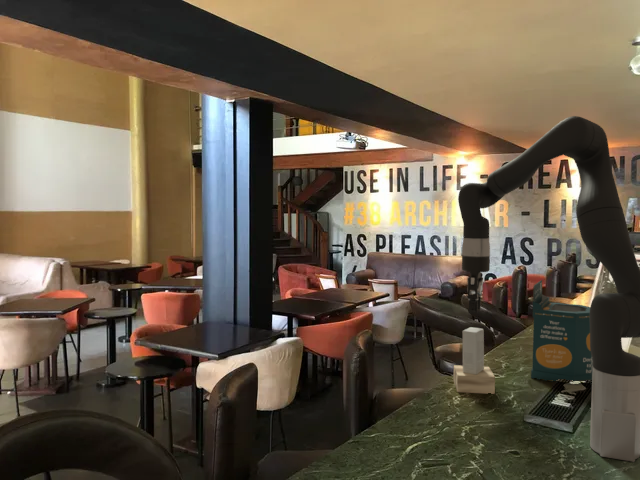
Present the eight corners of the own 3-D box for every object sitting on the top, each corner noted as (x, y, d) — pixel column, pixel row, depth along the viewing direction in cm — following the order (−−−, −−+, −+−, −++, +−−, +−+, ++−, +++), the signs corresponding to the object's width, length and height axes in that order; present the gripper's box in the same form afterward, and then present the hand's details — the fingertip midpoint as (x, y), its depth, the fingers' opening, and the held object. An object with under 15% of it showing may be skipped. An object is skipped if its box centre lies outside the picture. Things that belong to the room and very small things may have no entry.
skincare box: (469, 367, 154) (469, 326, 154) (484, 369, 152) (484, 328, 151) (461, 372, 149) (461, 330, 149) (476, 375, 147) (476, 332, 146)
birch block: (494, 395, 145) (495, 377, 145) (457, 393, 147) (457, 375, 147) (488, 383, 155) (488, 366, 155) (453, 381, 157) (453, 365, 156)
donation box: (539, 364, 173) (541, 279, 172) (594, 372, 165) (597, 283, 163) (530, 378, 159) (533, 285, 158) (590, 387, 151) (593, 290, 150)
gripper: (487, 256, 141) (486, 316, 142) (491, 253, 154) (490, 308, 155) (458, 255, 144) (457, 314, 145) (465, 252, 157) (464, 306, 158)
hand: (474, 311), depth 150 cm, fingers open, 8 cm apart
